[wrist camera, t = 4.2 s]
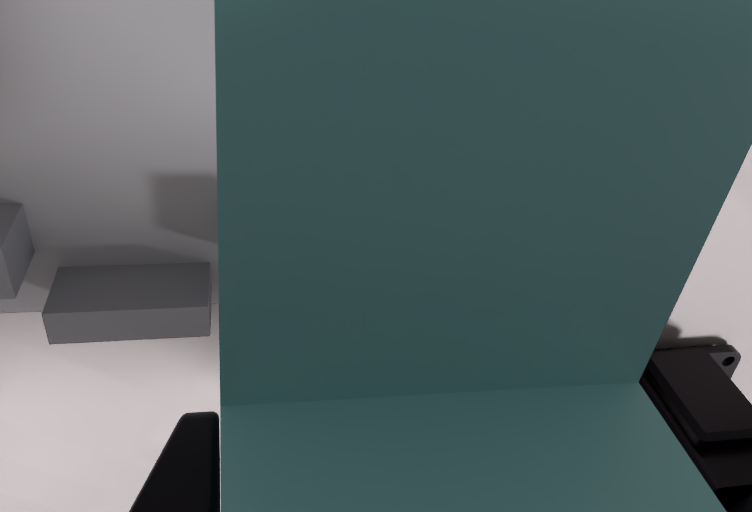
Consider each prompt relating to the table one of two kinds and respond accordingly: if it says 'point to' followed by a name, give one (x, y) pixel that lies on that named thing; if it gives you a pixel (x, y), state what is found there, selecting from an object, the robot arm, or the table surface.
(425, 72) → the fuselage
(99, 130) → the jig
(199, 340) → the table surface
